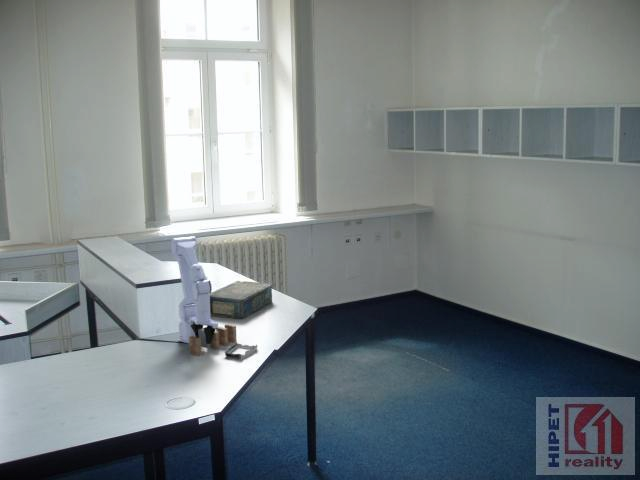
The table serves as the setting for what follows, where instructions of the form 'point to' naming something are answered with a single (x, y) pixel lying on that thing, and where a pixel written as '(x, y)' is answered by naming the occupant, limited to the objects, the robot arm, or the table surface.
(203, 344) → the domino
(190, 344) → the domino
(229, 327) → the domino
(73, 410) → the table surface
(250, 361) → the table surface
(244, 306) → the metal box
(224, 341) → the domino
